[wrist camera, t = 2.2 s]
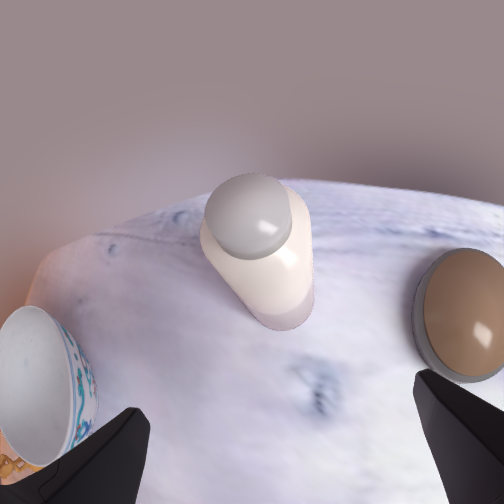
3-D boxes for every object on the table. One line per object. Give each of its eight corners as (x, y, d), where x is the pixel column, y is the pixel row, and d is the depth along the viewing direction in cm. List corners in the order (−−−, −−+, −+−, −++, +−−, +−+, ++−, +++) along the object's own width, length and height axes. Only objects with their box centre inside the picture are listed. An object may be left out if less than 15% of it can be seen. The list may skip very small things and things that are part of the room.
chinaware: (142, 469, 18) (85, 485, 11) (46, 449, 20) (-4, 447, 13) (125, 319, 25) (71, 292, 19) (39, 334, 27) (-7, 314, 20)
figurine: (70, 460, 19) (-19, 460, 8) (70, 499, 16) (-11, 508, 6) (31, 429, 21) (-46, 417, 10) (30, 466, 18) (-42, 461, 8)
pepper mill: (269, 342, 22) (213, 287, 10) (241, 289, 24) (174, 196, 13) (326, 309, 22) (334, 219, 11) (294, 260, 24) (269, 145, 13)
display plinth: (452, 411, 15) (462, 412, 14) (386, 300, 21) (391, 293, 19) (527, 326, 16) (538, 321, 14) (468, 234, 21) (476, 224, 20)
